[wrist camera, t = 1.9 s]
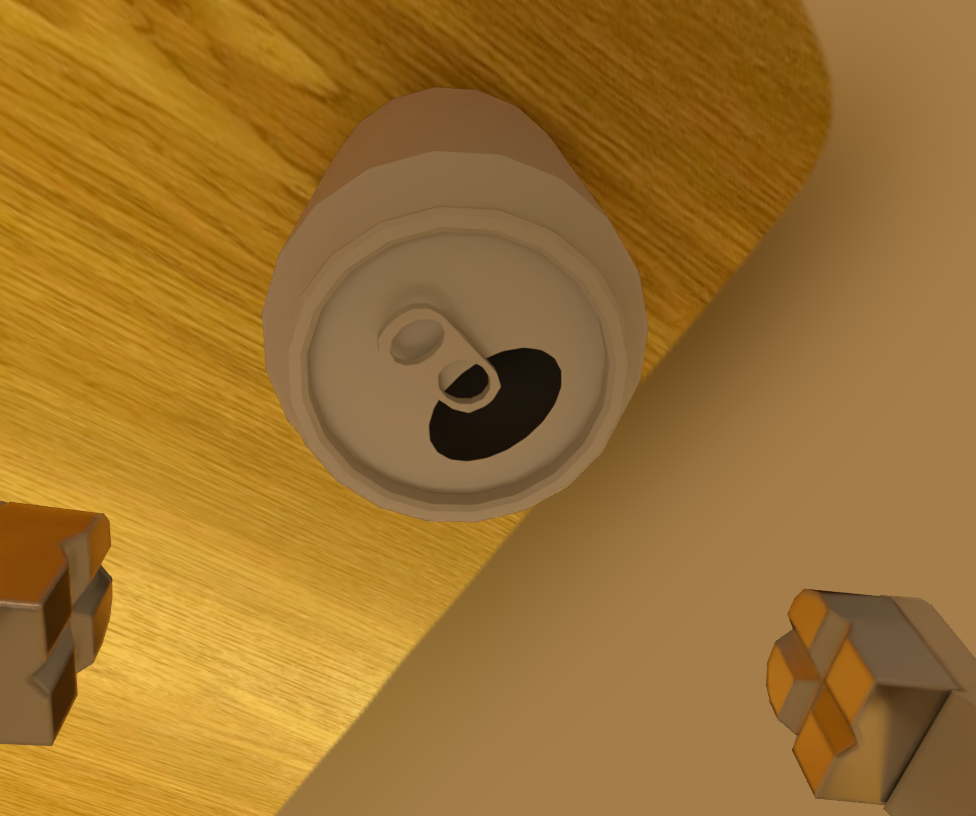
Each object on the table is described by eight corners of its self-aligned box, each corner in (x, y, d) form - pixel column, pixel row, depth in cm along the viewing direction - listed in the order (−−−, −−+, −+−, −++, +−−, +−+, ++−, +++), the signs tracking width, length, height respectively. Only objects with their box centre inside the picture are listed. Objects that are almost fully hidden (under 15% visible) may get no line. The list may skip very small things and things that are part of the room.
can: (442, 371, 28) (447, 617, 17) (273, 205, 25) (150, 377, 14) (620, 222, 26) (751, 396, 15) (457, 22, 23) (477, 62, 12)
